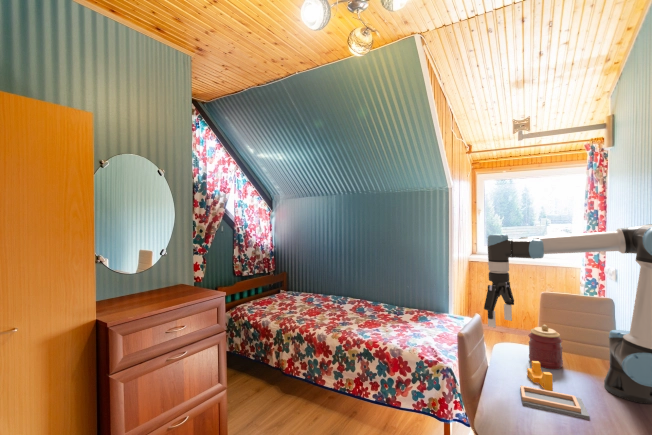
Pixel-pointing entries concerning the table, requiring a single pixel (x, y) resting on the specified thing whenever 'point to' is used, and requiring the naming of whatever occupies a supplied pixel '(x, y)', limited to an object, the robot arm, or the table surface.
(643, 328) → the robot arm
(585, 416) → the holder board
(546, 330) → the canister
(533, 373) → the pipe clamp
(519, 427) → the table surface
